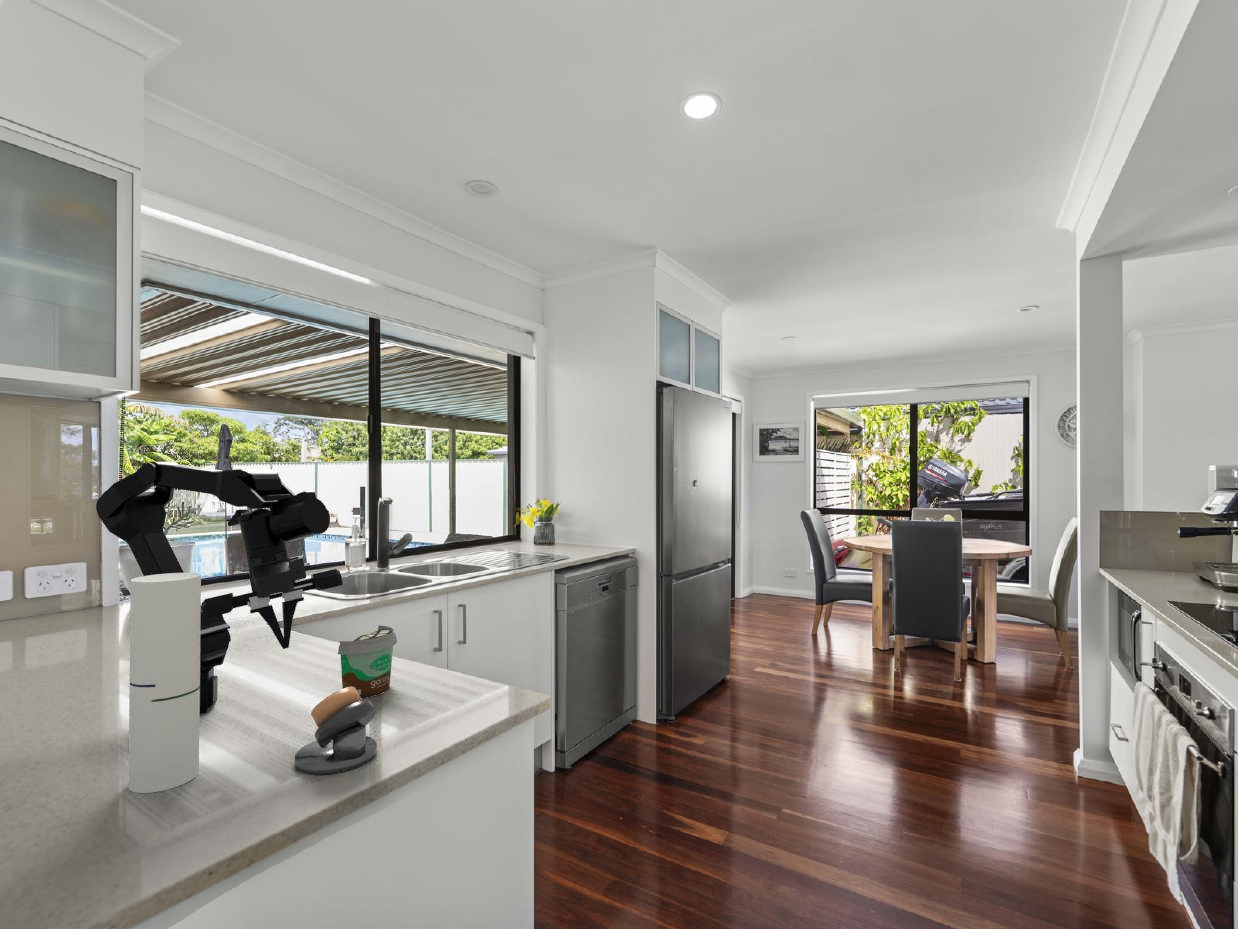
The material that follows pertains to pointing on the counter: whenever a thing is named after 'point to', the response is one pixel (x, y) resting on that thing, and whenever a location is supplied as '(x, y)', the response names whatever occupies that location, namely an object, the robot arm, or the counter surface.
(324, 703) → the button cap
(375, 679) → the food container
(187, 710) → the cylindrical container
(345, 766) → the button post
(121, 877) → the counter surface
